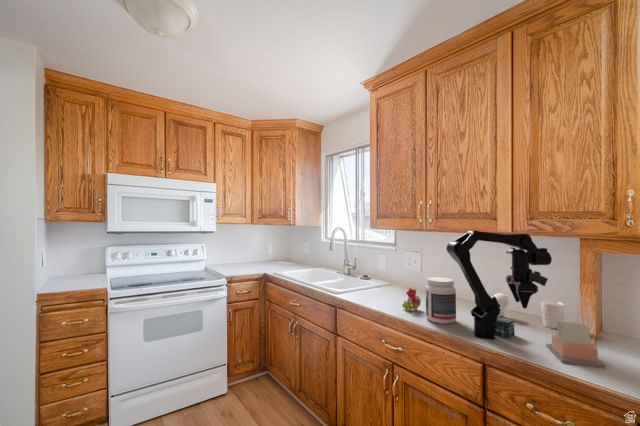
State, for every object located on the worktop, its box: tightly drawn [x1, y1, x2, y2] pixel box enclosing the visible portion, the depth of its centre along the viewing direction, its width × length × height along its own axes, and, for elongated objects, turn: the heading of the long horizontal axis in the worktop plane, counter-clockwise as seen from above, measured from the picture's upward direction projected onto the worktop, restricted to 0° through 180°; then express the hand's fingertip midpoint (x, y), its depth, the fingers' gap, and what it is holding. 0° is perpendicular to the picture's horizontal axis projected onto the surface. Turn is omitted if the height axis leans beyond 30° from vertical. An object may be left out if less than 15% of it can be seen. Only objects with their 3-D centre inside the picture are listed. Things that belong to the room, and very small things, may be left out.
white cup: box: [540, 300, 565, 330], centre depth 128 cm, size 8×8×10 cm
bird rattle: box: [401, 287, 422, 313], centre depth 150 cm, size 6×11×9 cm
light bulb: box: [493, 292, 510, 318], centre depth 141 cm, size 7×7×11 cm
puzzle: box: [493, 316, 515, 340], centre depth 118 cm, size 6×6×6 cm
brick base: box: [545, 334, 606, 369], centre depth 99 cm, size 11×13×5 cm
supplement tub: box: [425, 276, 457, 325], centre depth 135 cm, size 13×13×18 cm
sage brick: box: [556, 321, 591, 346], centre depth 100 cm, size 7×5×6 cm, turn 70°
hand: (521, 305), depth 117 cm, fingers open, 9 cm apart
